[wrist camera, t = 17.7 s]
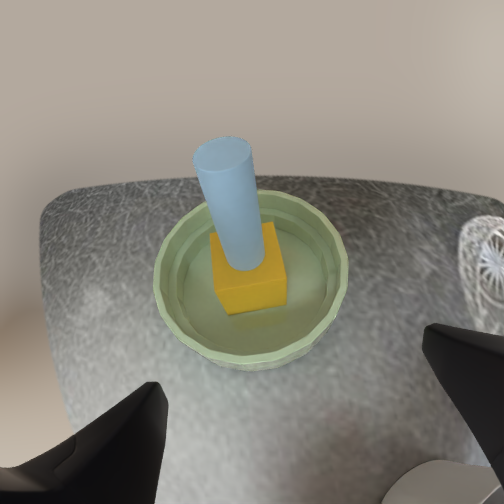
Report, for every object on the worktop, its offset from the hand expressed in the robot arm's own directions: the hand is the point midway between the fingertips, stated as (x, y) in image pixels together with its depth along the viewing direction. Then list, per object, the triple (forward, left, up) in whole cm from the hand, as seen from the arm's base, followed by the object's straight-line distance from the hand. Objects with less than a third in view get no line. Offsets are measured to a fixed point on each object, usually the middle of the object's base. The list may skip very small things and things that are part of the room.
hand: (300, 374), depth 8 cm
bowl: (+7, +7, -14) cm, 17 cm away
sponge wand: (+7, +7, -13) cm, 16 cm away
